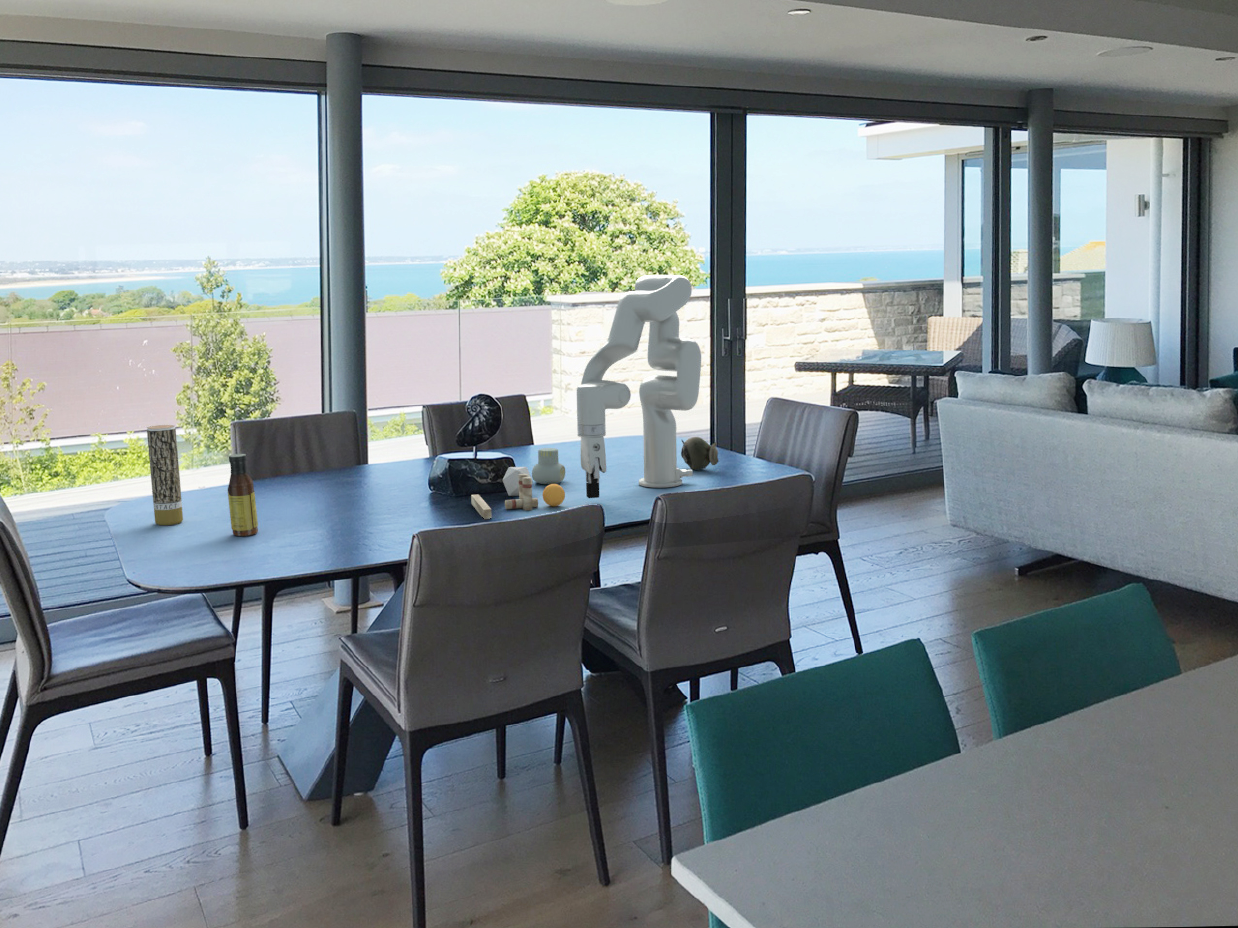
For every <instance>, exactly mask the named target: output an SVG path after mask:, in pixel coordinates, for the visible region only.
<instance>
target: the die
mask: <svg viewBox="0 0 1238 928" xmlns="http://www.w3.org/2000/svg"><path fill="white" fill-rule="evenodd" d="M519 474H528V477H531V479H532V485H533V484H534V480H533V478H532V475H531V474H530V472H529V469H528V467H527V466H510V467H509V466H508V468H507V470H506V472H505V474H504V476H503V478H502V483H503V485H504V487H505V490H506V492H507V494H508V496H509V497H517V496H518V497H519Z"/></svg>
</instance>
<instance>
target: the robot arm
mask: <svg viewBox="0 0 1238 928" xmlns="http://www.w3.org/2000/svg"><path fill="white" fill-rule="evenodd" d="M692 291H693V289H692V283H691V282H690V280H689V279H688V278H687V277H686V276H685V275H684V276H683V275H679V274H648V275H642V276H640V277H639V278H638V279H637V280H636V281H635V285H634V290H632V291H631V290H630V291H627V292H624V293H622V295H621V296H620V298H619V300H618V303H617V306H616V310H615V312H614V313H615V314H614V318H613V321H612V324H611V328H610V331H609V335H608V338H607V341H606V342H605V343H604V344H603V346H602V347H600V348H599V349H598V350H597V351H596V352H595V354H594V355H593V356H592V357H591V358H590V359H589V361H588V363H587V364H586V366H585V369H584V371H583V376H582V378H581V383H580V385H578V386H577V388H576V415H577V416H576V417H577V418H576V419H577V426H576V427H577V437H578V438H579V437H580V466H581V469H582V470H583V471H584V472H585V482H586V483H585V485H586V486H585V488H586V498H588V499H597V498H600V479H601V477H600V472H601V473H603V474H604V473H606V472H607V458H606V457H607V456H606V445H605V438H604V437H605V436H606V434H607V433H606V431H607V430H606V429H607V427H606V410H618V409H622V408H624V407H626V406H627V405H628V404H629V402H630V400H631V390H630V387H629V386H628V385H627V384H626V383H624V382H622V381H618V380H617V381H616V380H608V379H606V380H605V379H604V378H603V377H604V376H605V374H606V372H607V370H608V369H610V367H612V366H613V365H614V364H615V363H617V362H619V361H621V360H624V359H625V358H627V357H629V356H631V355H634V354H635V353H636V352H637V351H638V348H639V344H640V341H641V338H642V333H643V331H644V327H645V324H646V323H649V332H648V345H647V363H648V366H650V368H651V369H653V370H656V371H662V372H663V371H665V372H676V376H675V375H673V376H672V375H661V374H657V375H650V376H647V377H645V378H644V379H643V380H642V381H641V383H640V385H639V389H638V390H639V391H638V392H639V396H638V397H639V400H640V405H641V409H642V410H641V411H642V423H643V424H642V426H643V428H642V429H643V478H639V479H638V484H639V485H640V486H642V487H644V488H653V489H654V488H659V489H662V488H664V489H665V488H672V487H673V488H674V487H679V486H681V485H682V484H683V479H682V478H683V477H693V475H694V470H693V469H680V468H679V467H677V466H678V465H677V421H676V417H675V416H674V414H673V412H672V411H684V412H685V411H690V410H692V409H693V408H694V407H695V406H696V405H697V402H698V399H699V393H700V381H701V370H702V352H701V348H700V346H699V344H698V343H697V342H696V341H695V340H694V339H691V338H687V337H686V338H685V337H680V319H679V315H678V313H677V312H678V311H679V310H680V309H681V308H683V307H684V306H686V304H687V303H688V302H689V300H690V299H691V296H692ZM603 379H604V380H603Z"/></svg>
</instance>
